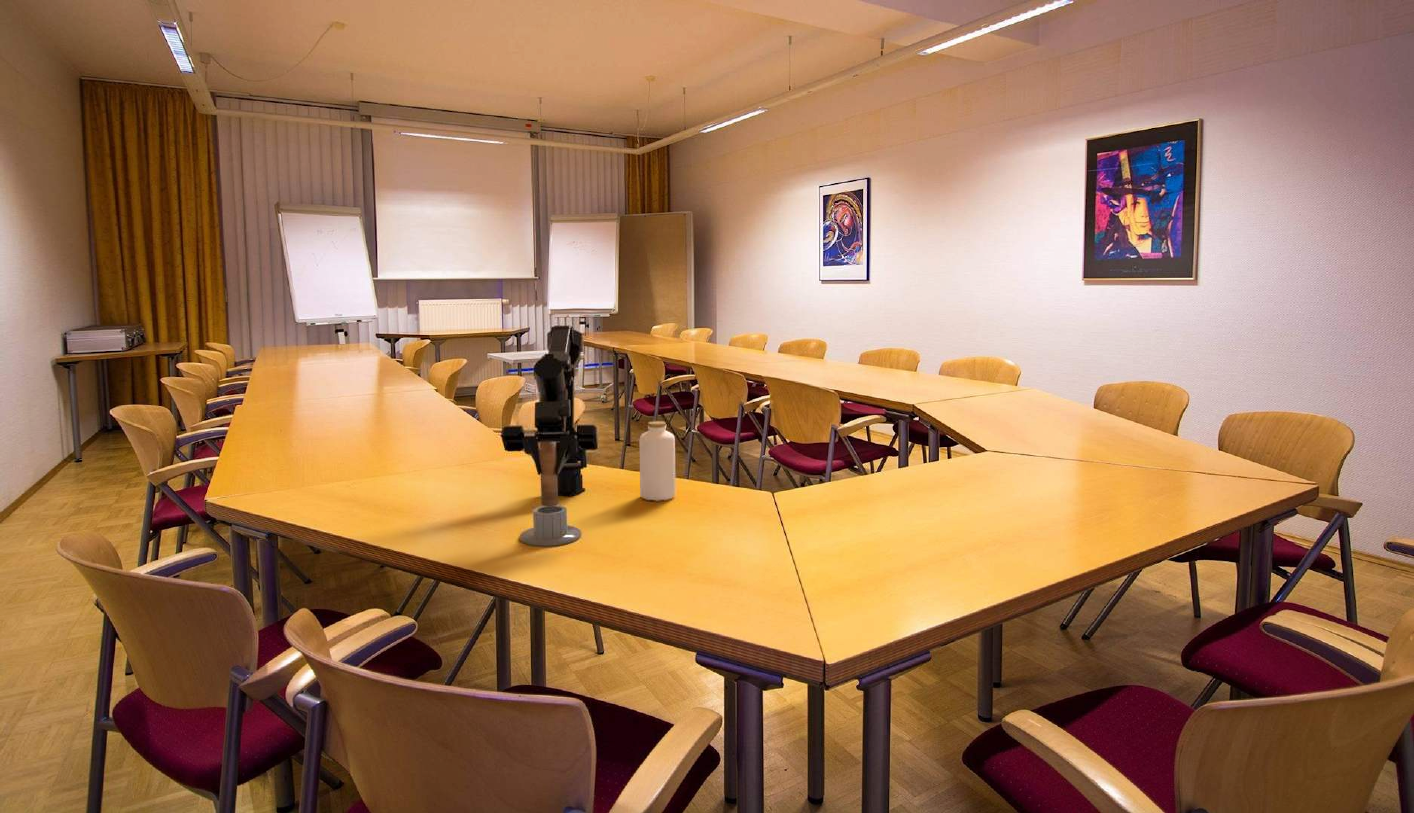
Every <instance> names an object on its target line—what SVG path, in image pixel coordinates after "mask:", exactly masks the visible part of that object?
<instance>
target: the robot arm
mask: <svg viewBox="0 0 1414 813" xmlns="http://www.w3.org/2000/svg"><path fill="white" fill-rule="evenodd" d="M546 334H547V335H546V348H547V352H548V353H544V355H542V356H541V358H540V359H539V360H537V361H536V362H535V364H534V365H533V377H534V380H535V383H536V384H535V385H536V387H537V391H538V393H539V400H538V401H536V402H534V428H535V429H524V427H523V425H505V426H503V427H502V429H501V432H500V437H501V440H502V444H503V447H504V451H506V452H521V451H523V450H524V453H525V454H526V455H530V457H531V458H532V460H533V462H534V465H535V466H534V467H535V468H536V472H537V473H536V474H537V476H541V474H540V446H539V443H540V442H542V441H555V442H556V456H557V463H556V475H557V487H558V496H565V497H571V496H572V497H573V496H574V494H575V495H577V494H580V493H582V492H581V491H583V492H585V491H586V488H585V487H583V483H584V482H583V473H582V470H584V468H587V467H588V464H587V462H588V460H587V451H596V450H597V449H598V448H599V437H598V436H599V435H598V428H597V426H596V425H595V424H593V423H592V424H577V425H576V429H575V377H576V376H577V369H576V368H577V367H578V365H579V364H580V362H581V360H582V353H584V347H585V346H584V337H583V333H582V332H580V331H578V330H576V329H574V326H571V325H553V326H551V327H550V331H548V332H547V333H546ZM579 492H580V493H579Z"/></svg>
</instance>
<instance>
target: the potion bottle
mask: <svg viewBox="0 0 1414 813" xmlns="http://www.w3.org/2000/svg"><path fill="white" fill-rule="evenodd" d="M647 429H648V430H647V431H645V432H644V433H641V434H640V436H639V442H638V443H639V444H638V445H639V490H640V493H639V494H640V496H641V497H642V499H643V500H646V501H650V500H655V501H654V502H660V501H659V500H664V501H669V500H671V499H672V498H674V497H675V496H676V445H675V444H676V437H675V435H674V434H673V433H672V432H670V431H668V430H667V425H666V421H660V420H655V421H649V422H648V426H647Z"/></svg>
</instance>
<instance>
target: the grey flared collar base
mask: <svg viewBox="0 0 1414 813" xmlns="http://www.w3.org/2000/svg"><path fill="white" fill-rule="evenodd" d="M567 511H568V509H567V507H566V506H564V505H559V504H558V505H556V506H550V507H547V506H542V505H541V506H538V507H535V508H533V510H532V518H533V521H532V523H533V527H531V528H528V529H526V530H523V531H522V532H521V533H520V535H519V540H520V542H521V543H523V544H524V545H527V546H531V547H542V548H544V547H545V548H546V547H548V548H549V547H558V546H565V545H568V544H572V543H574V542H577V541H578V540H580V538H582V530H581V529H580V528H578V527H576V526H573V525H568V512H567Z"/></svg>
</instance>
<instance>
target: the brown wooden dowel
mask: <svg viewBox="0 0 1414 813" xmlns="http://www.w3.org/2000/svg"><path fill="white" fill-rule="evenodd" d="M538 445H539V449H540V494H541V498H540V499H541V500H540V501H541V506H547V507H550V506H556V505H559V498H558V497H559V495H558V487H557V475H556V463H557V456H556V442H555V441H542V442H540V443H539V444H538Z"/></svg>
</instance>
